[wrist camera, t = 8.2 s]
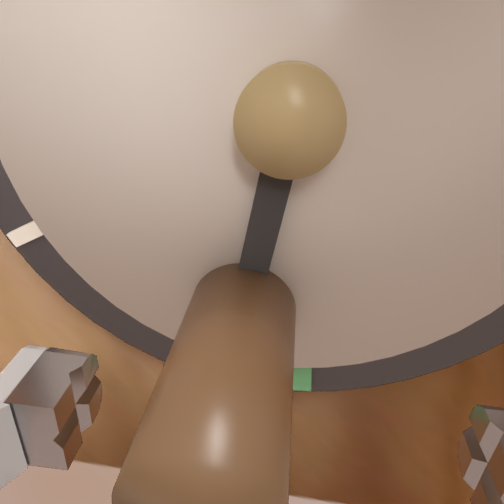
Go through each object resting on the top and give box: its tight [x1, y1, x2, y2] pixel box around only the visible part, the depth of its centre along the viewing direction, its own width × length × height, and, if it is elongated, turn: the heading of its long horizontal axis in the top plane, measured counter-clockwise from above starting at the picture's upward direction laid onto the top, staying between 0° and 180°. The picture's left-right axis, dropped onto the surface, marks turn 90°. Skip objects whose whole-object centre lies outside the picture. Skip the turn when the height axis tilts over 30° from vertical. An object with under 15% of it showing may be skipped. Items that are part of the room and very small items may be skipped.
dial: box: [0, 0, 504, 504], centre depth 8 cm, size 17×15×7 cm
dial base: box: [0, 160, 504, 391], centre depth 12 cm, size 20×20×2 cm
